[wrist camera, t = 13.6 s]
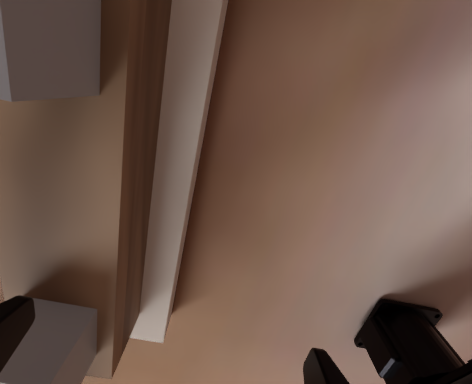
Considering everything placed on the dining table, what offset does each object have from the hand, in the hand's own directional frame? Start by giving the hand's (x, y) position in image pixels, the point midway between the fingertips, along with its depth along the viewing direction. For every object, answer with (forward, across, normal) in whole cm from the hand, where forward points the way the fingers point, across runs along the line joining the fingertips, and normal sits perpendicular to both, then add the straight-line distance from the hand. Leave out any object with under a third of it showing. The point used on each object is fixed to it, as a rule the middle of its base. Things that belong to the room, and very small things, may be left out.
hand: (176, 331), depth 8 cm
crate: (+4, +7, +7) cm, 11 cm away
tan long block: (+10, +7, 0) cm, 12 cm away
